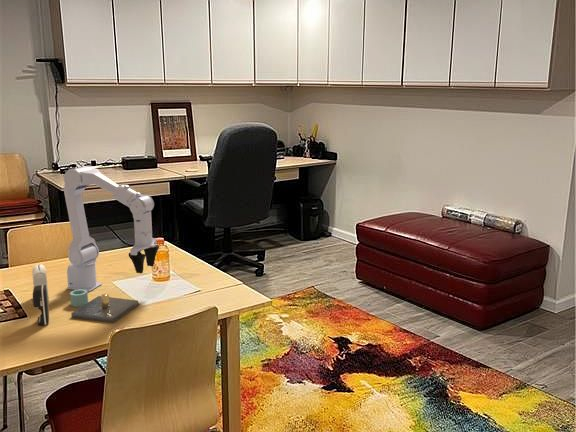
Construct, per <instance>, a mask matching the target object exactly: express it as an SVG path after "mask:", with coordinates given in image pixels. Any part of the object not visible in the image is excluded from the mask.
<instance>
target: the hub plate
mask: <svg viewBox="0 0 576 432" xmlns="http://www.w3.org/2000/svg"><path fill="white" fill-rule="evenodd" d="M138 306H139V300H137V299H129V298H119V297H111V296H109V294H108V293H103V294H101V295H98V296H97V297H95V298H93V299H92V300H89V301H88V303H87V304H85V305H83V306H79V307H77V309H75V310H74V311H72V312H71V318H74V319H83V320H89V321H97V322H98V321H99V322H106V323H112V324H113V323H114V324H115V323H116V322H117V321H118V320H120V319H121V318H123V317H124V316H125V315H126V314H128V313H129V312H131V311H133V310H134V309H135V308H136V307H138Z"/></svg>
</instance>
